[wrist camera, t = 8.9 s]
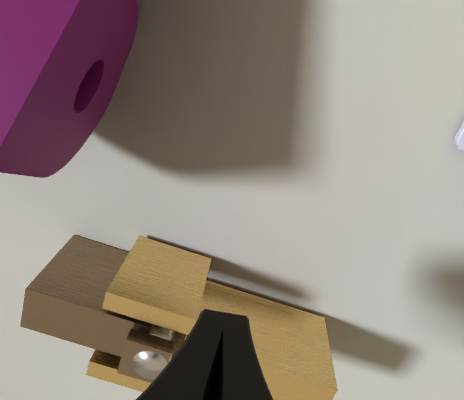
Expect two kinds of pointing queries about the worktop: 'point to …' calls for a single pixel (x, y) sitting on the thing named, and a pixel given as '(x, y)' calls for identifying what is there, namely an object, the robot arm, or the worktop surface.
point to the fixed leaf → (94, 309)
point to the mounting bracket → (57, 76)
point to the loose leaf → (224, 300)
